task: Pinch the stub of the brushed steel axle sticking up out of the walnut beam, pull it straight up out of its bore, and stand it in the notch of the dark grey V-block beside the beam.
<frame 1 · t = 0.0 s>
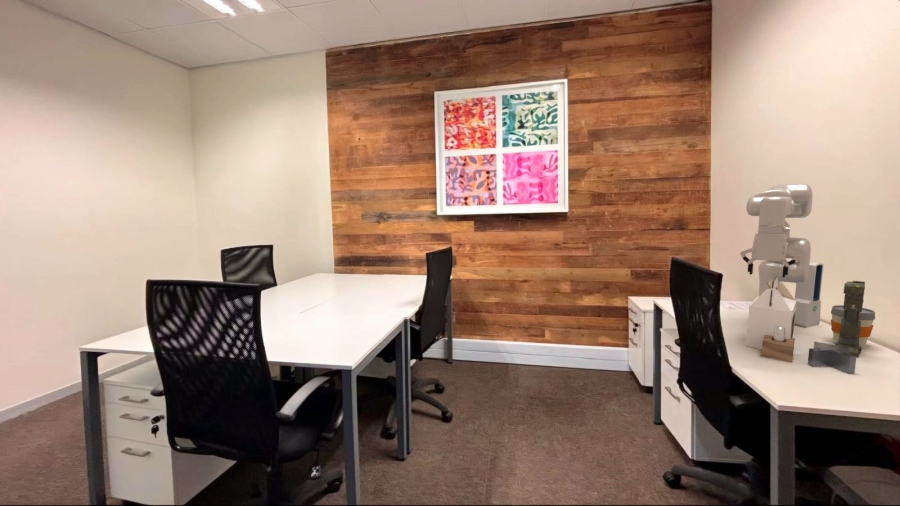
hand: (766, 275, 146), 31 cm above the table, tool pointing down, fingers open, 9 cm apart
v block: (829, 364, 140), on the table
mechanical leg: (847, 353, 150), on the table
gable box: (769, 344, 162), on the table, touching beam
beam: (777, 354, 149), on the table
reusable coffee cup: (848, 345, 158), on the table
axle: (778, 341, 149), in the beam
electronic device: (803, 324, 185), on the table
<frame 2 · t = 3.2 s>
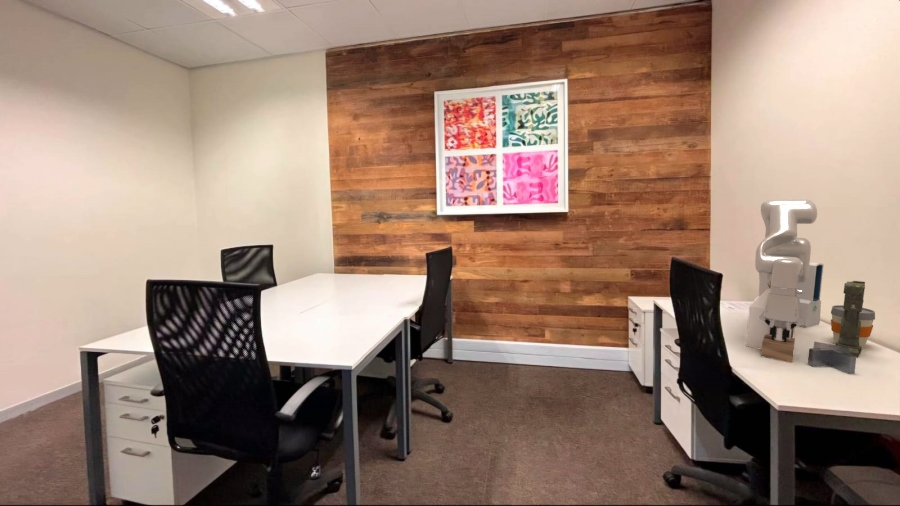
hand: (779, 337, 148), 7 cm above the table, tool pointing down, fingers closed on axle, 3 cm apart
gable box: (769, 344, 162), on the table
axle: (778, 341, 149), in the beam, touching gripper
everything else where it was.
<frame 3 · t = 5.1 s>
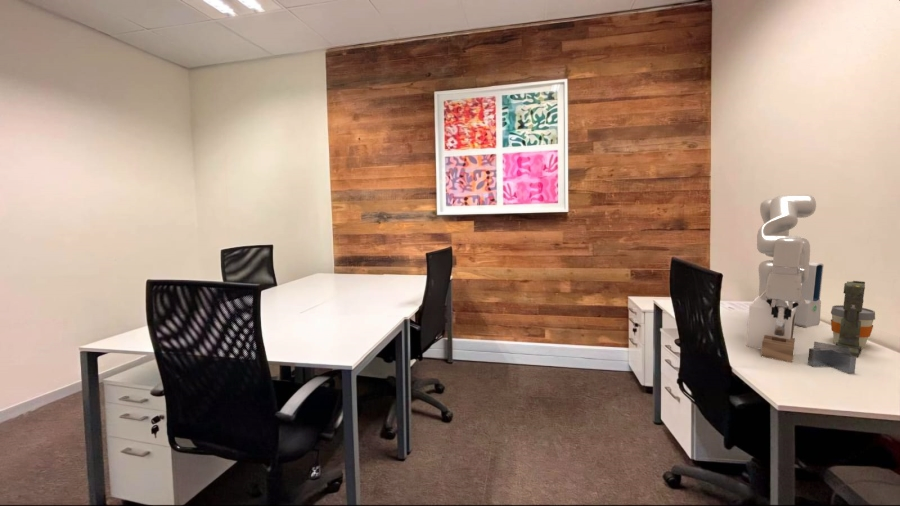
hand: (780, 317, 148), 15 cm above the table, tool pointing down, fingers closed on axle, 3 cm apart
gable box: (769, 344, 162), on the table, touching beam
axle: (780, 320, 148), point 14 cm above the table, touching gripper
everything else where it was.
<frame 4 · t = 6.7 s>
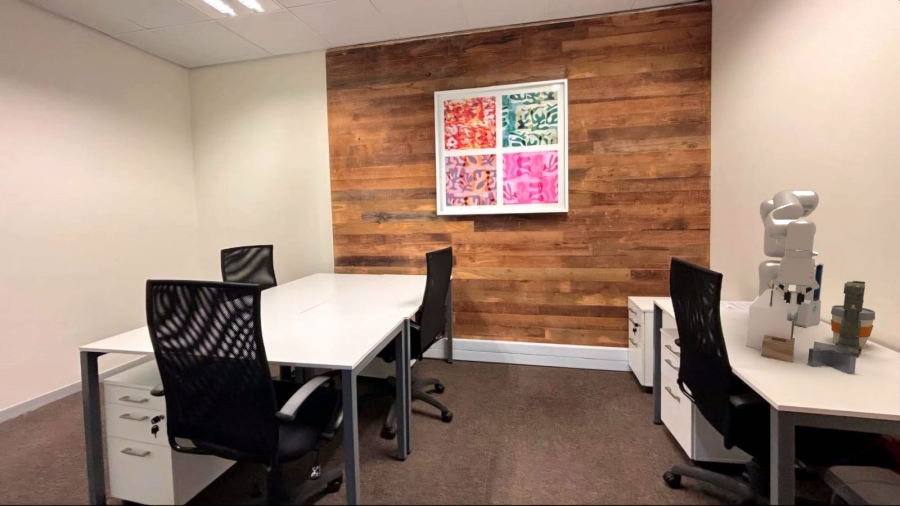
hand: (793, 302, 144), 21 cm above the table, tool pointing down, fingers closed on axle, 3 cm apart
axle: (793, 306, 144), point 20 cm above the table, touching gripper
everything else where it was.
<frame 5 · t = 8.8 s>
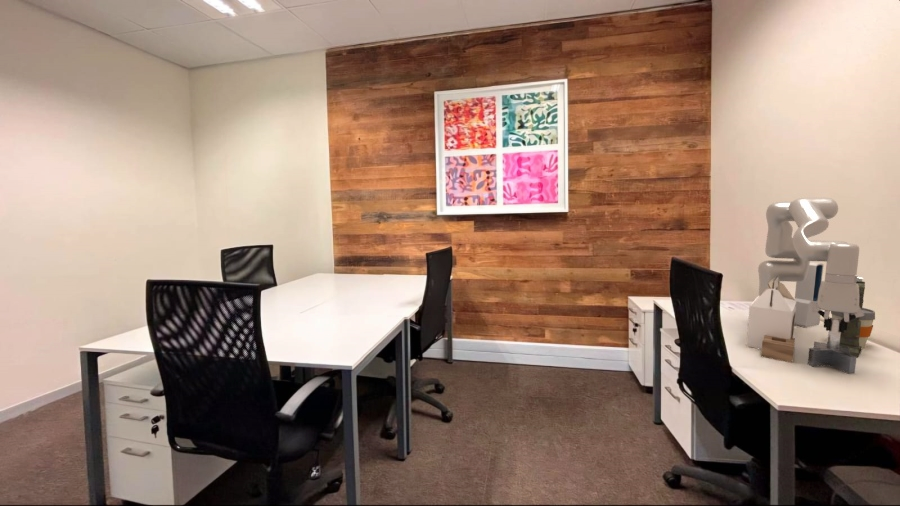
hand: (834, 330, 135), 14 cm above the table, tool pointing down, fingers closed on axle, 3 cm apart
axle: (834, 334, 135), point 13 cm above the table, touching gripper
everything else where it was.
when the fingers open (8 cm above the table, at t = 10.5 s): axle drops 1 cm, on the table.
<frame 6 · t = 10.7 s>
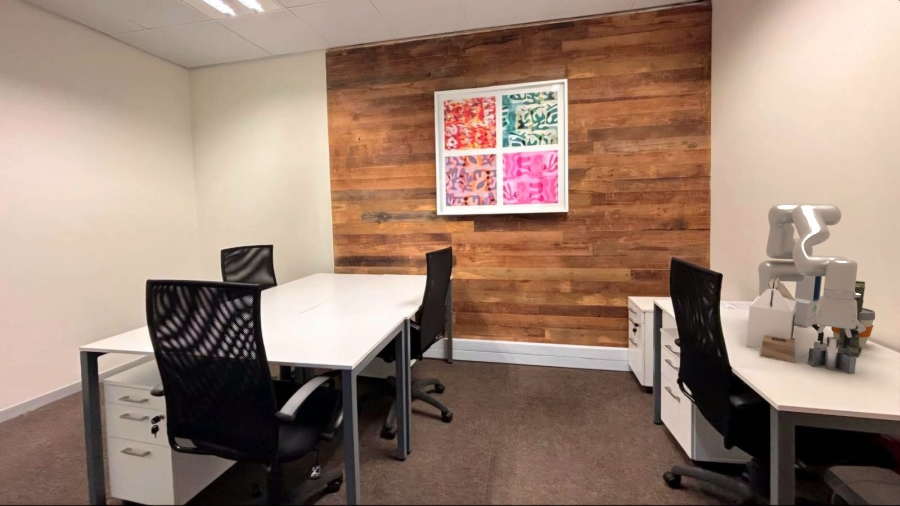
hand: (832, 344, 136), 9 cm above the table, tool pointing down, fingers open, 5 cm apart
axle: (831, 353, 136), on the table
everything else where it was.
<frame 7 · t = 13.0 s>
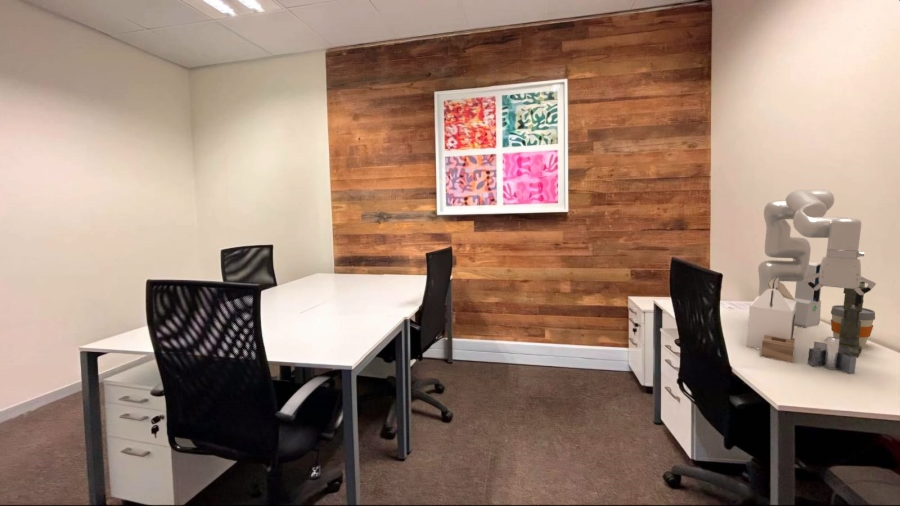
hand: (836, 303, 134), 23 cm above the table, tool pointing down, fingers open, 9 cm apart
nothing on the table moved.
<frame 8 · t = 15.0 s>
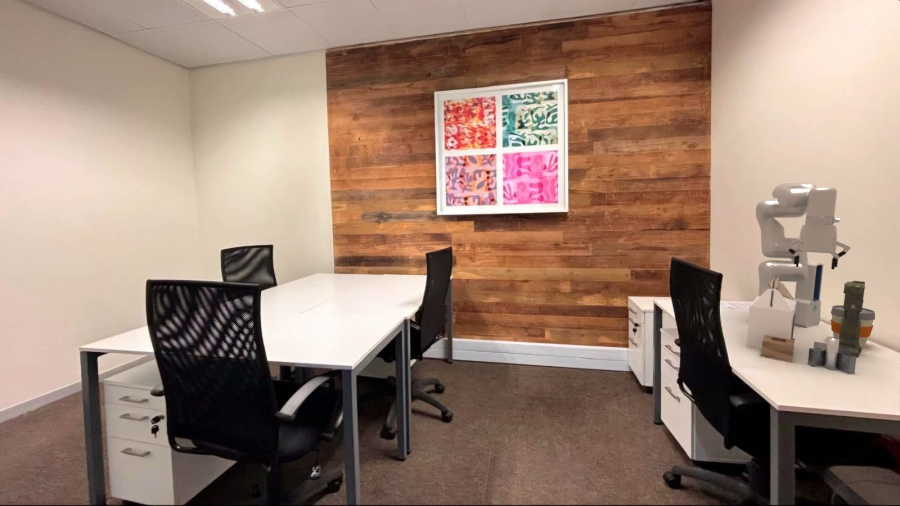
hand: (814, 267, 143), 34 cm above the table, tool pointing down, fingers open, 9 cm apart
nothing on the table moved.
at the end: axle 0.1 cm from the target spot on the v block, point 5.5 cm above the v block's base; axle tilted 0°; the gripper is holding nothing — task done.
